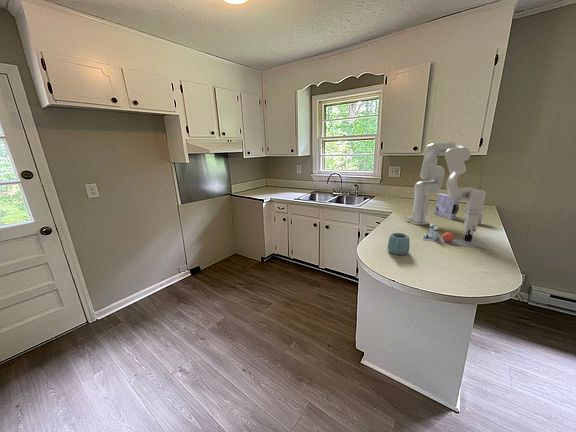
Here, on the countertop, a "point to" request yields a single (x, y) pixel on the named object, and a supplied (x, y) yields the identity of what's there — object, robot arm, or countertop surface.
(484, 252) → the countertop surface
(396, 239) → the mug
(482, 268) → the countertop surface
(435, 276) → the countertop surface
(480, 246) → the lane
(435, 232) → the pin
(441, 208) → the cake pan box
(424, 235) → the front pin
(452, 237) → the ball
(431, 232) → the pin
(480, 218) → the container
